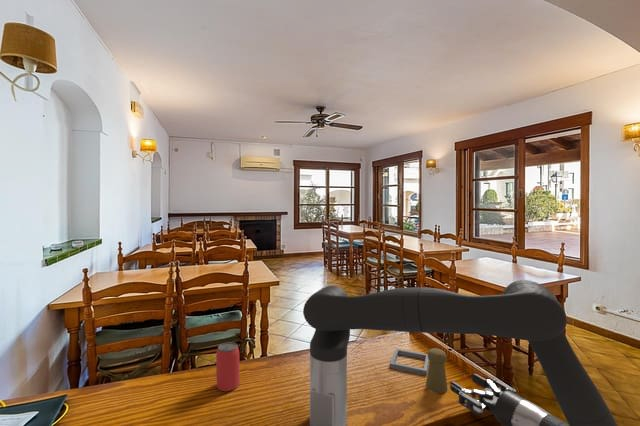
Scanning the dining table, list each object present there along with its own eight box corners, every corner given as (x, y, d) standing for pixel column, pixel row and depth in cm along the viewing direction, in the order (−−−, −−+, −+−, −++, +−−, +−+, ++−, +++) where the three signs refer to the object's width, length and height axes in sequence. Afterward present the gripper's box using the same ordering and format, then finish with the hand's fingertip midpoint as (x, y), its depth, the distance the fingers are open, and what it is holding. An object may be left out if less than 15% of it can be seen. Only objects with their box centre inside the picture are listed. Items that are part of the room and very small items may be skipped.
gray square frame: (426, 375, 98) (426, 370, 98) (389, 367, 103) (389, 363, 103) (429, 358, 109) (429, 354, 109) (395, 352, 114) (396, 348, 113)
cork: (449, 394, 89) (450, 356, 88) (427, 391, 90) (427, 354, 90) (445, 382, 95) (445, 346, 94) (424, 380, 96) (424, 344, 96)
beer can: (211, 388, 92) (211, 348, 91) (227, 377, 97) (227, 339, 97) (228, 395, 89) (228, 353, 88) (244, 383, 94) (243, 344, 94)
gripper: (543, 393, 73) (480, 361, 87) (504, 411, 66) (443, 373, 81) (542, 424, 73) (479, 387, 87) (503, 445, 67) (442, 401, 81)
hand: (462, 380), depth 84 cm, fingers open, 8 cm apart
